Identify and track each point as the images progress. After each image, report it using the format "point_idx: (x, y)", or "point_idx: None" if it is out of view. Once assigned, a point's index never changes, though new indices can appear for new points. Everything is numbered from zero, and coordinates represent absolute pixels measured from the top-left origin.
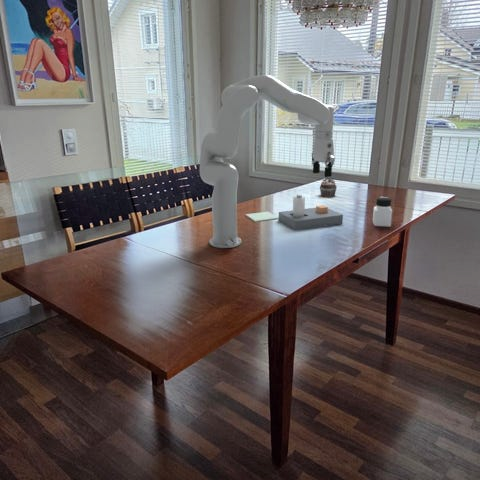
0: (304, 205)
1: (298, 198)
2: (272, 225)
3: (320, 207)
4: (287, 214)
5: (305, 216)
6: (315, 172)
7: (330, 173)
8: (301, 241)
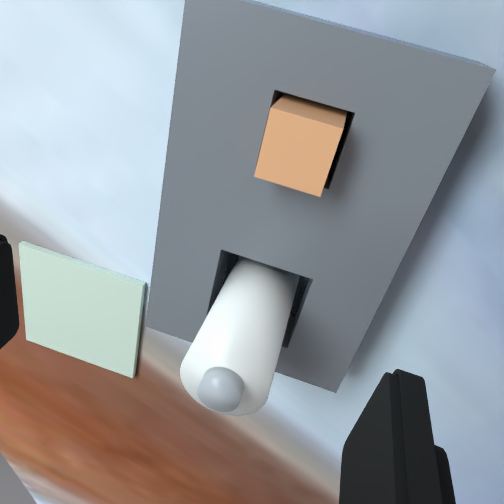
0: (275, 333)
1: (244, 404)
2: None
3: (307, 184)
4: None
5: (309, 301)
6: (10, 315)
7: (442, 469)
8: (475, 445)
